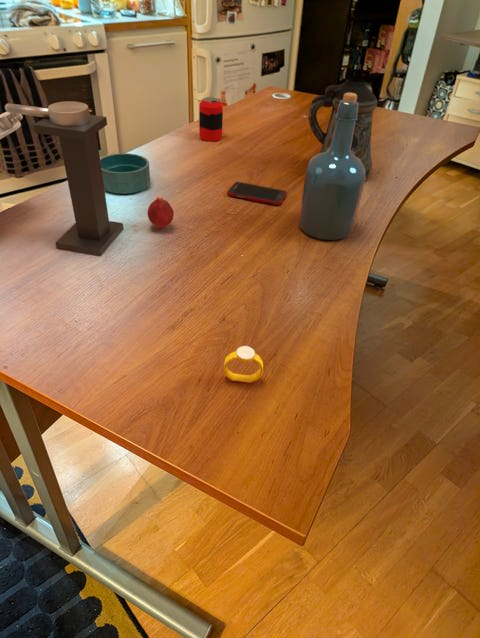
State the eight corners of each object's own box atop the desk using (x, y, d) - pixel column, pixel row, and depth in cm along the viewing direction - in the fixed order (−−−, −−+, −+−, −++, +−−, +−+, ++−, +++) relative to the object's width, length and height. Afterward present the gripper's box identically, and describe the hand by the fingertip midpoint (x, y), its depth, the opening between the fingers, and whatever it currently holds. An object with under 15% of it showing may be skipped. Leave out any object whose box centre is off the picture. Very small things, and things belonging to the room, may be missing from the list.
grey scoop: (-5, 117, 84) (-9, 103, 83) (17, 106, 90) (14, 93, 88) (79, 128, 82) (76, 114, 81) (96, 117, 87) (94, 103, 86)
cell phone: (279, 206, 118) (280, 203, 117) (226, 195, 121) (226, 192, 120) (287, 194, 123) (287, 191, 123) (235, 184, 127) (235, 181, 126)
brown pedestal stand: (56, 248, 98) (27, 127, 81) (83, 222, 107) (62, 108, 90) (100, 256, 96) (80, 134, 80) (123, 228, 105) (109, 114, 89)
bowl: (91, 191, 119) (87, 168, 115) (112, 172, 129) (109, 150, 125) (139, 198, 117) (137, 176, 113) (157, 178, 127) (156, 157, 123)
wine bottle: (349, 247, 104) (382, 107, 85) (292, 236, 107) (312, 97, 88) (355, 220, 115) (386, 90, 95) (303, 210, 117) (323, 81, 98)
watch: (222, 384, 71) (223, 357, 67) (223, 371, 73) (225, 344, 69) (261, 387, 71) (264, 360, 67) (261, 374, 73) (264, 347, 69)
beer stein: (380, 181, 134) (404, 88, 118) (321, 187, 128) (338, 90, 112) (351, 159, 146) (369, 72, 130) (295, 165, 140) (308, 74, 124)
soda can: (205, 143, 150) (206, 104, 142) (195, 135, 155) (195, 97, 147) (226, 140, 153) (227, 101, 145) (215, 133, 158) (216, 95, 150)
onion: (178, 226, 108) (177, 194, 103) (165, 236, 104) (163, 204, 98) (157, 219, 109) (155, 188, 104) (143, 230, 105) (140, 197, 100)
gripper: (2, 146, 104) (44, 121, 98) (-63, 182, 88) (-18, 155, 82) (-18, 119, 100) (24, 91, 94) (-89, 152, 85) (-44, 121, 79)
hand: (4, 121), depth 88 cm, fingers open, 8 cm apart
